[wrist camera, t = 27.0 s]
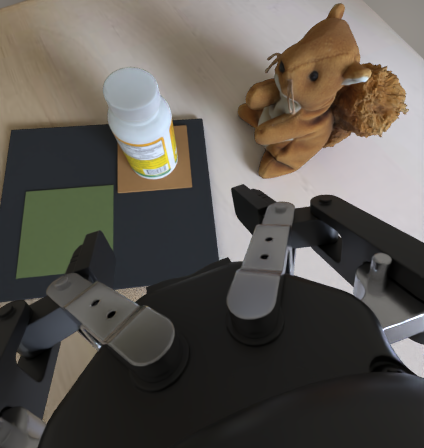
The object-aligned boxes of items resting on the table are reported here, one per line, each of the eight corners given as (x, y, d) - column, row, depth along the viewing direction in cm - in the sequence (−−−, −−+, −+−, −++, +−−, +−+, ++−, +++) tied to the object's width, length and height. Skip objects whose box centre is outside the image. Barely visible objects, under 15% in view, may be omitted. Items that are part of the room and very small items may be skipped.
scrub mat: (-9, 303, 22) (-17, 303, 21) (15, 133, 27) (9, 128, 27) (220, 277, 24) (221, 277, 23) (202, 121, 29) (202, 117, 28)
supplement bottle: (159, 189, 25) (136, 131, 16) (120, 165, 26) (76, 95, 17) (187, 153, 27) (180, 80, 18) (149, 130, 27) (123, 49, 18)
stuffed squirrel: (231, 111, 30) (254, -24, 17) (336, 103, 31) (432, -28, 18) (244, 182, 27) (282, 86, 14) (359, 171, 28) (489, 72, 15)
